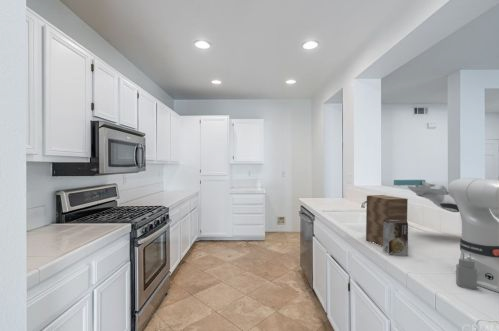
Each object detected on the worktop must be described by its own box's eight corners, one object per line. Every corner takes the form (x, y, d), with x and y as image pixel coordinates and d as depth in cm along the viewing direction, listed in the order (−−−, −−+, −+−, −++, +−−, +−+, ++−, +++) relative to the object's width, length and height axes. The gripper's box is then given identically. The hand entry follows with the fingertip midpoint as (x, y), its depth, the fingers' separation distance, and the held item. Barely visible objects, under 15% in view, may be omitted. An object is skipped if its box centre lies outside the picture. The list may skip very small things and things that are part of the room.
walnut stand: (406, 247, 131) (407, 198, 131) (389, 249, 127) (390, 199, 127) (382, 238, 146) (382, 195, 146) (365, 240, 142) (366, 195, 142)
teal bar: (425, 185, 144) (425, 179, 144) (398, 185, 137) (398, 180, 137) (420, 184, 146) (420, 179, 146) (393, 185, 140) (393, 179, 140)
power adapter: (455, 282, 92) (456, 250, 92) (474, 286, 89) (475, 253, 89) (457, 286, 89) (458, 253, 89) (477, 290, 86) (478, 256, 86)
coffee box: (401, 251, 124) (401, 219, 124) (408, 256, 118) (408, 222, 118) (382, 250, 125) (383, 219, 125) (388, 255, 119) (389, 222, 119)
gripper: (449, 199, 137) (434, 188, 134) (414, 195, 157) (400, 184, 153) (453, 190, 138) (438, 178, 134) (418, 186, 158) (404, 176, 154)
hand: (418, 181), depth 144 cm, fingers closed on teal bar, 3 cm apart
